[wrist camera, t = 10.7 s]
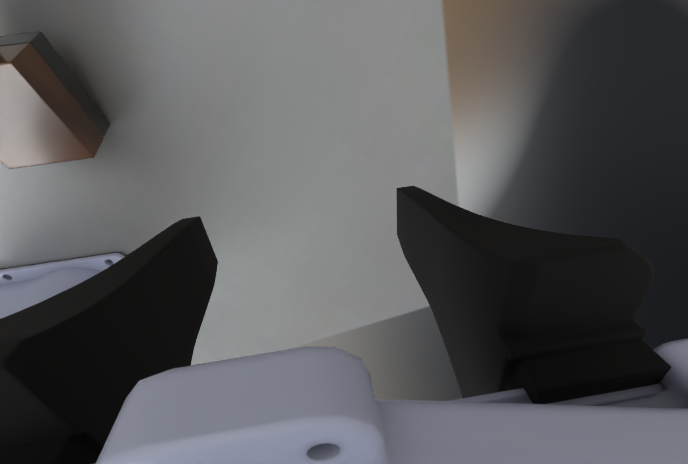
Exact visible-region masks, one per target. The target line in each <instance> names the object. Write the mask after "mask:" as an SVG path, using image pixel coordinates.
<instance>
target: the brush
mask: <svg viewBox="0 0 688 464" xmlns="http://www.w3.org/2000/svg"><path fill="white" fill-rule="evenodd" d="M109 126H110V123H109V122H108V121H107V119H106V118H105V117H104V115H103V114H102V113H101V111H100V110H99V108H98V107H97V106H96V104H95V103H94V102H93V100H92V99H91V98H90V96H89V95H88V94H87V92H86V91H85V90H84V88H83V87H82V86H81V84H80V83H79V81H78V80H77V79H76V77H75V76H74V75H73V73H72V72H71V71H70V69H69V68H68V67H67V65H66V64H65V63H64V61H63V60H62V59H61V57H60V56H59V54H58V53H57V52H56V50H55V49H54V48H53V46H52V45H51V44H50V42H49V41H48V40H47V38H46V37H45V36H44V34H43V33H42V32H32V33H23V34H15V35H6V36H0V162H2V163H3V164H4V165H5V166H6V167H7V168H9V169H13V168H20V167H28V166H35V165H43V164H50V163H57V162H65V161H72V160H80V159H87V158H94V157H95V155H96V153H97V151H98V149H99V147H100V145H101V143H102V141H103V138H104V136H105V134H106V132H107V130H108V128H109Z"/></svg>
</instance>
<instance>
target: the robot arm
mask: <svg viewBox="0 0 688 464" xmlns="http://www.w3.org/2000/svg"><path fill="white" fill-rule="evenodd" d="M397 235H398V238H399V241H400V244H401V247H402V250H403V253H404V256H405V258H406V260H407V262H408V264H409V266H410V268H411V269H412V271H413V273H414V275H415V277H416V279H417V281H418V283H419V285H420V287H421V289H422V291H423V293H424V294H425V296H426V298H427V300H428V303H429V305H430V307H431V309H432V311H433V314H434V317H435V319H436V322H437V325H438V327H439V330H440V333H441V335H442V338H443V341H444V343H445V346H446V349H447V352H448V355H449V358H450V361H451V364H452V367H453V370H454V372H455V376H456V378H457V382H458V385H459V388H460V391H461V394H462V397H463V399H457V400H451V401H422V400H389V399H375V395H374V390H373V386H372V381H371V376H370V373H369V371H368V370H367V368H366V366H365V365H364V363H363V361H362V359H361V358H359V357H357V356H355V355H352V354H350V353H348V352H345V351H343V350H341V349H339V348H336V347H301V348H294V349H288V350H282V351H276V352H270V353H264V354H258V355H252V356H246V357H240V358H234V359H228V360H221V361H215V362H209V363H203V364H197V365H191V360H192V355H193V350H194V346H195V343H196V339H197V336H198V333H199V330H200V327H201V324H202V321H203V318H204V315H205V312H206V309H207V306H208V303H209V300H210V296H211V293H212V290H213V287H214V283H215V277H216V271H217V264H218V261H217V258H216V256H215V253H214V251H213V248H212V246H211V243H210V241H209V238H208V236H207V233H206V231H205V228H204V226H203V223H202V221H201V218H200V217H193V218H186V219H182V220H180V221H178V222H176V223H174V224H173V225H171V226H170V227H168V228H167V229H165V230H164V231H162V232H161V233H159V234H158V235H156V236H155V237H154V238H152V239H151V240H149V241H148V242H146V243H145V244H143V245H142V246H141V247H139V248H138V249H136V250H135V251H133V252H132V253H130V254H128V255H127V256H124V255H122V254H120V253H112V254H105V255H98V256H91V257H84V258H78V259H71V260H64V261H57V262H50V263H44V264H37V265H30V266H23V267H16V268H10V269H3V270H0V464H688V339H683V340H677V341H672V342H668V343H665V344H662V345H660V346H658V347H657V348H655V349H654V350H652V349H651V348H650V347H649V346H648V345H647V344H646V343H645V342H643V341H642V340H641V339H640V338H643V337H644V336H645V331H644V329H643V328H642V327H640V326H639V325H638V324H637V323H636V322H635V321H634V320H633V319H634V317H635V315H636V313H637V312H638V310H639V308H640V306H641V304H642V303H643V301H644V299H645V297H646V296H647V294H648V292H649V290H650V287H651V285H652V282H653V266H652V264H651V262H650V260H649V259H647V258H646V257H645V256H643V255H642V254H641V253H639V252H638V251H636V250H635V249H633V248H632V247H630V246H629V245H627V244H626V243H624V242H623V241H622V240H620V239H618V238H606V237H592V236H580V235H569V234H562V233H555V232H547V231H541V230H536V229H531V228H526V227H521V226H517V225H512V224H508V223H504V222H500V221H497V220H494V219H490V218H487V217H484V216H481V215H478V214H475V213H473V212H470V211H468V210H465V209H463V208H460V207H458V206H456V205H453V204H451V203H449V202H447V201H445V200H443V199H441V198H438V197H436V196H434V195H432V194H430V193H428V192H426V191H424V190H422V189H420V188H417V187H415V186H409V187H402V188H397ZM109 260H111V261H112V262H110V261H109ZM190 365H191V366H190Z"/></svg>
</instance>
